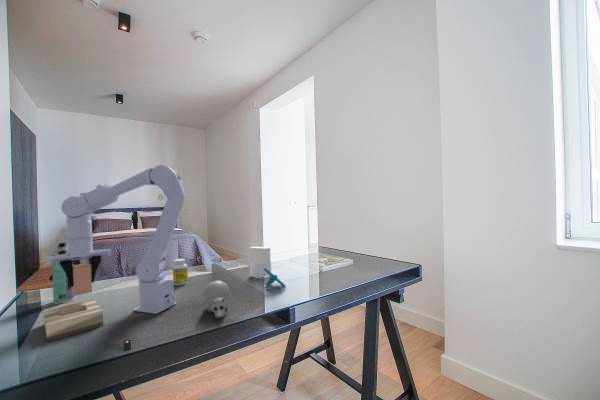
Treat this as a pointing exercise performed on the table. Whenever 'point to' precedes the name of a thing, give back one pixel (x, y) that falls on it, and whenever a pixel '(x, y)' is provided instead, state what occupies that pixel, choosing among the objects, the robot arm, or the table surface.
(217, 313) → the grey skull
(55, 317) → the socket block
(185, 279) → the supplement bottle
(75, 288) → the peg
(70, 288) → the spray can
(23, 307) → the table surface
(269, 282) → the teal crossed bar figure
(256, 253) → the white rectangular block
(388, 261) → the table surface
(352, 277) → the table surface
